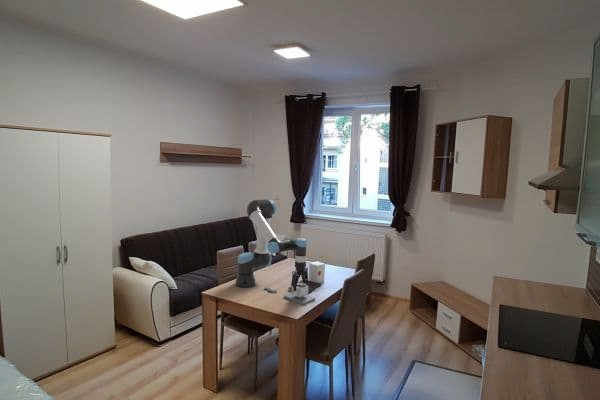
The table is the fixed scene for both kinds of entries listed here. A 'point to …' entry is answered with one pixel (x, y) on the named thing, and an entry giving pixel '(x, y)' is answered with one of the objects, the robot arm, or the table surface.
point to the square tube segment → (301, 290)
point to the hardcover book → (309, 286)
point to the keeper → (299, 298)
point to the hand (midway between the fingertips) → (299, 293)
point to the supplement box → (316, 272)
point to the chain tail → (270, 290)
